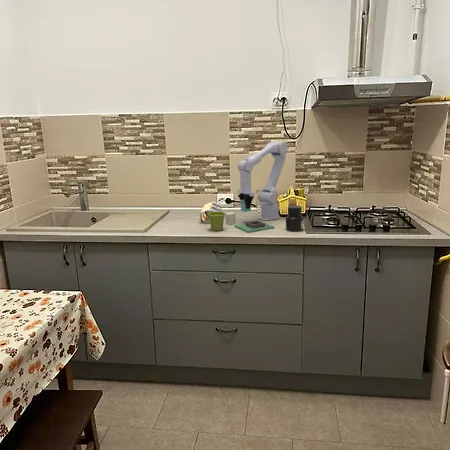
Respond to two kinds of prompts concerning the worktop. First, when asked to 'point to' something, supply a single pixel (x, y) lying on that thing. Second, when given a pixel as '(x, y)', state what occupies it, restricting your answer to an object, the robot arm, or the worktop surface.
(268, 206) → the robot arm
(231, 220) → the offwhite plug
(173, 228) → the worktop surface
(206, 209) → the yellow striped curved piece
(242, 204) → the teal plug
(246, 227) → the board
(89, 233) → the worktop surface
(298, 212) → the ink bottle
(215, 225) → the plant pot
